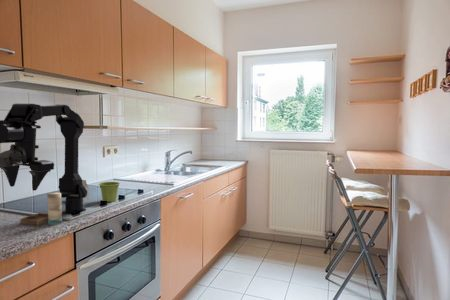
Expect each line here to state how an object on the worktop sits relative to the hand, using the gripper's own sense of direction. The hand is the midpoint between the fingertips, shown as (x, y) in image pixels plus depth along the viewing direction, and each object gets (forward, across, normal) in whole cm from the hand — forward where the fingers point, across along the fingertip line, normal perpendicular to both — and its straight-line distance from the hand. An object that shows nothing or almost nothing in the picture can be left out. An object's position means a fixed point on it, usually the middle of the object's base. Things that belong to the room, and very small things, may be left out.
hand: (23, 188), depth 98 cm
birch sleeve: (+15, +3, +11) cm, 18 cm away
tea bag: (+16, -13, +44) cm, 48 cm away
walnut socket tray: (+15, -4, +11) cm, 19 cm away
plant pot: (+14, +2, +46) cm, 48 cm away
